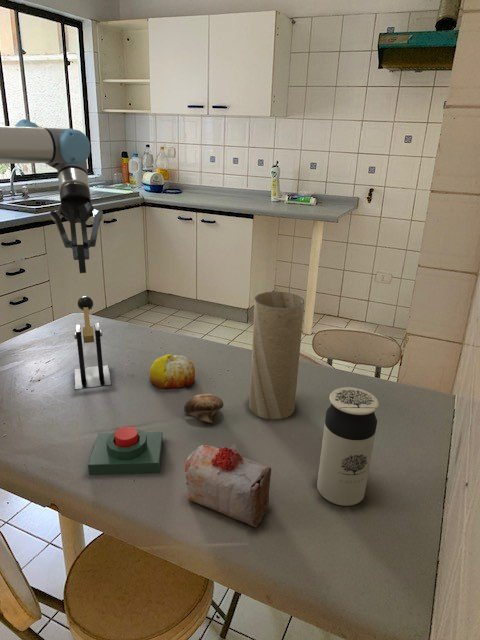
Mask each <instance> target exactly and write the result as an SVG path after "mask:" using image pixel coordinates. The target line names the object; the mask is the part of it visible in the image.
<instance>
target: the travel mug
mask: <svg viewBox="0 0 480 640" xmlns="http://www.w3.org/2000/svg"><path fill="white" fill-rule="evenodd" d="M329 402H330V406H329V407H328V408H327V410H326V412H325V419H324V425H323V433H322V443H321V451H320V458H319V465H318V474H317V481H316V482H317V483H316V486H317V491H318V492H319V494H320V495H321V496H322V497H323V498H324V499H325V500H327V501H328V502H330V503H332V504H335V505H338V506H345V507H346V506H349V507H350V506H354V505H357V504H359V503H361V501H363V499H364V498H365V494H366V488H367V483H368V477H369V471H370V466H371V459H372V454H373V450H374V449H373V447H374V443H375V437H376V432H377V425H378V418H377V416H376V413H375V412H376V411H377V410H378V409H379V407H380V406H379V400H378V399H377V398H376V396H374V395H373V394H372V393H371V392H369V391H367V390H364V389H361V388H357V387H350V386H349V387H348V386H345V387H338V388H336V389H334V390H332V391H331V393H330V394H329Z"/></svg>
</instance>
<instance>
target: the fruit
mask: <svg viewBox="0 0 480 640" xmlns="http://www.w3.org/2000/svg"><path fill="white" fill-rule="evenodd" d="M195 378H196V369H195V365H194V362H192V361H191V360H190V358H189V357H187V356H186V355H181V354H179V355H178V354H172V353H168V354H165V355H163V356H159V357H157V358H156V359H155V360H154V362H152V364H151V366H150V369H149V381H150V383H151V384H152V385H153V386H155V387H157V388H158V389H163V390H165V389H180V388H183V387H185V388H188V387H189V386H191V385H192V384H193V383H194V382H195Z"/></svg>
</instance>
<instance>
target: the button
mask: <svg viewBox="0 0 480 640" xmlns="http://www.w3.org/2000/svg"><path fill="white" fill-rule="evenodd" d="M136 428H137V427H135V426H131V425H128V426H127V425H126V426H125V425H124V426H121V427H118V429H116V430H117V431H116V430H115V431H116V432H115V443H116V445H117V446H119V447H130V446H133V445H135V444H136V443H137V442H138V431H137V429H138V428H137V429H136Z"/></svg>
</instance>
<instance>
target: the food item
mask: <svg viewBox="0 0 480 640" xmlns="http://www.w3.org/2000/svg"><path fill="white" fill-rule="evenodd" d="M236 447H237V445H236V444H233V445H232V446H229V448H228V447H227V446H213V445H209V444H202V445H200V446H198V447H197V448H196V449H195V450H193V451H192V452H191V453H190V455H188V457H186V459H185V460H184V472H185V479H186V482H185V485H186V489H187V500H188V501H189V502H193V503H195V504H198V505H201V506H203V507H206V508H209V509H210V510H213V511H215V512H218V513H221V514H223V515H225V516H227V517H229V518H231V519H234V520H236V521H239V522H242V523H245V524H247V525H249V526H251V527H254V528H256V529H257V527H258V525H259V524H260V523H261V522H262V519H263V517H264V515H265V514H266V512H267V510H268V507H269V504H270V503H269V502H270V489H271V477H272V476H271V475H272V467H271V466H267V465H264V464H261V463H259V462H256V461H254V460H251V459H249V458H247V457H243V456H242V455H241V454H240V453H238V451H237V448H236Z"/></svg>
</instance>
